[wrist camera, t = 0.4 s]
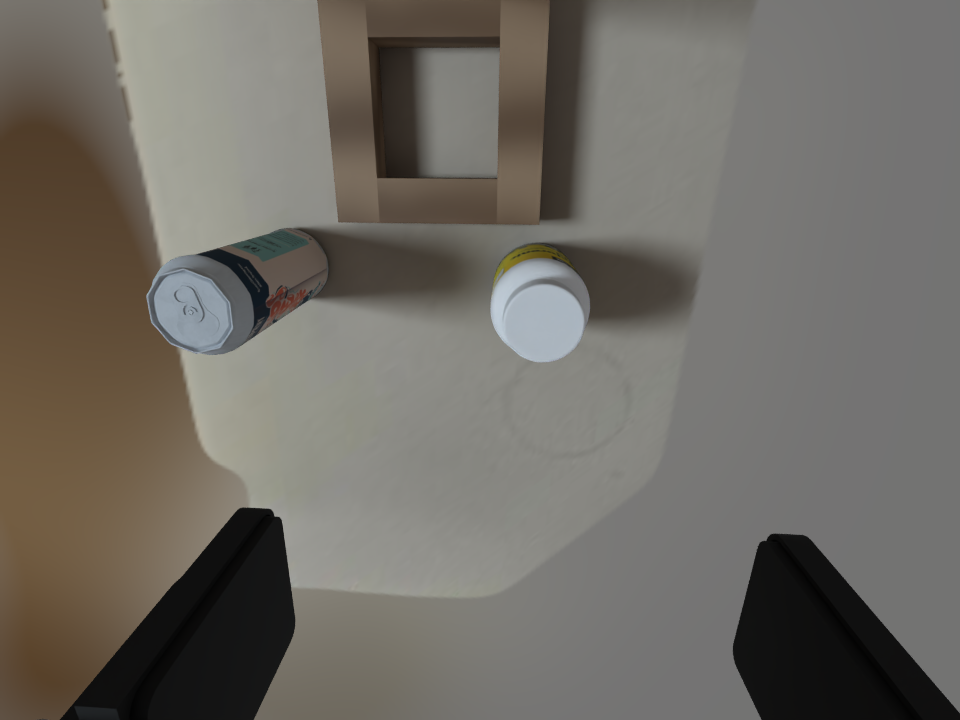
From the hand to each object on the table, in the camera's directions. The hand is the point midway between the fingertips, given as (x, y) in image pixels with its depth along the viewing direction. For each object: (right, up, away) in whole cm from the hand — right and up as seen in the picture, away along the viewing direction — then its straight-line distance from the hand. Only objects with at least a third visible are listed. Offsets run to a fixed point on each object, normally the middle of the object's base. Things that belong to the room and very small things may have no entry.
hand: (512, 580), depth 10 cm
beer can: (-13, +11, +24) cm, 29 cm away
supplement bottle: (+3, +10, +23) cm, 25 cm away
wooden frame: (-3, +19, +20) cm, 28 cm away
